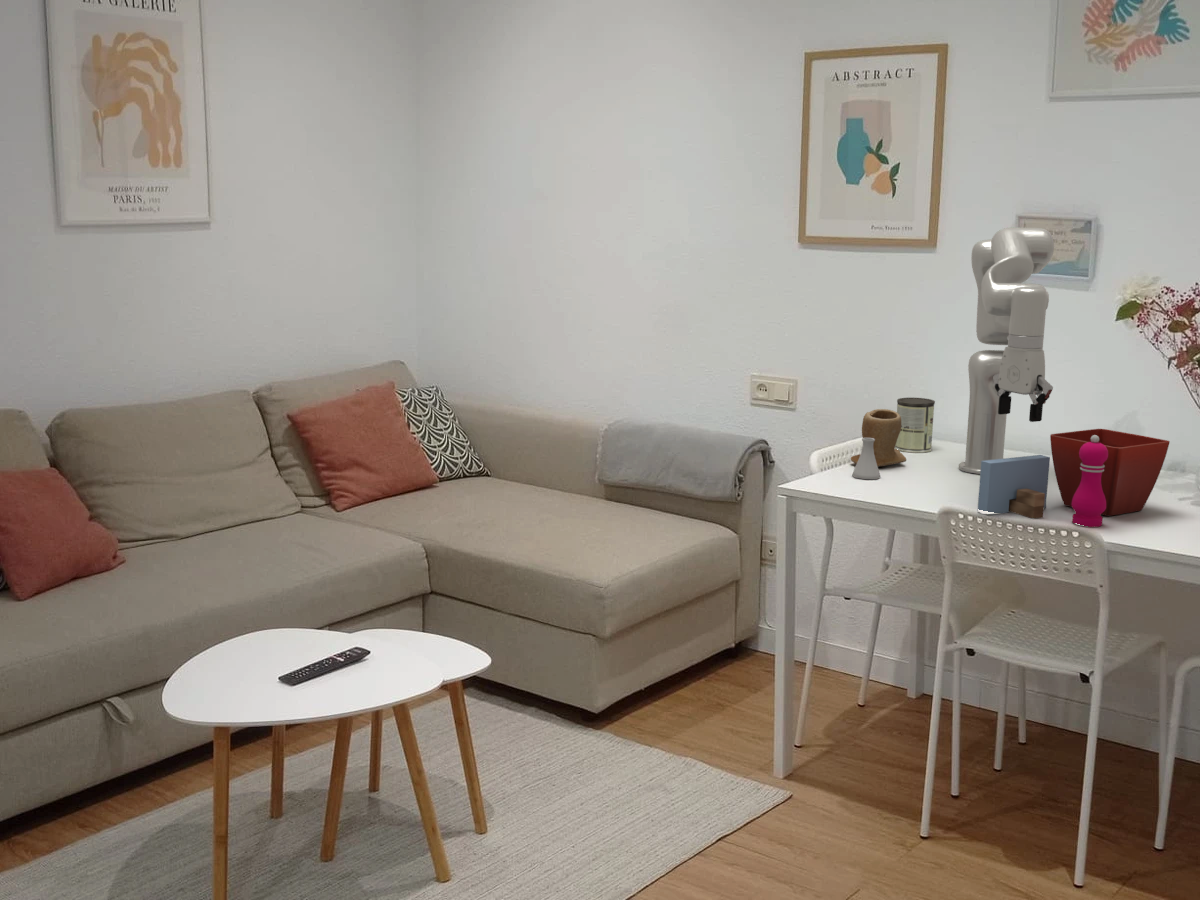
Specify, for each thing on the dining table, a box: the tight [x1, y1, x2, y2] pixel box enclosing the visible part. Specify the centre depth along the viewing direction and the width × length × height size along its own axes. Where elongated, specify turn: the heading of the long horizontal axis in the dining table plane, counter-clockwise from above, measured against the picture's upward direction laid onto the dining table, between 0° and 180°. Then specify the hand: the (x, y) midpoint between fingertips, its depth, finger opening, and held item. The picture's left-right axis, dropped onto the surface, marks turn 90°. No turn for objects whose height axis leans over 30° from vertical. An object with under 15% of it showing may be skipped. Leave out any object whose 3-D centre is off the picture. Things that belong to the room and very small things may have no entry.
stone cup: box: [850, 408, 907, 467], centre depth 347 cm, size 15×12×15 cm
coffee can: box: [895, 397, 936, 454], centre depth 369 cm, size 10×10×14 cm
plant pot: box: [1049, 428, 1170, 517], centre depth 303 cm, size 19×19×17 cm
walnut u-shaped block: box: [1008, 489, 1045, 519], centre depth 301 cm, size 16×3×6 cm, turn 27°
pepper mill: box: [1071, 435, 1108, 528], centre depth 288 cm, size 7×7×20 cm
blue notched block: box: [977, 454, 1051, 514], centre depth 301 cm, size 18×3×12 cm, turn 117°
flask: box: [851, 437, 882, 480], centre depth 333 cm, size 7×7×10 cm
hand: (1019, 417), depth 298 cm, fingers open, 9 cm apart
